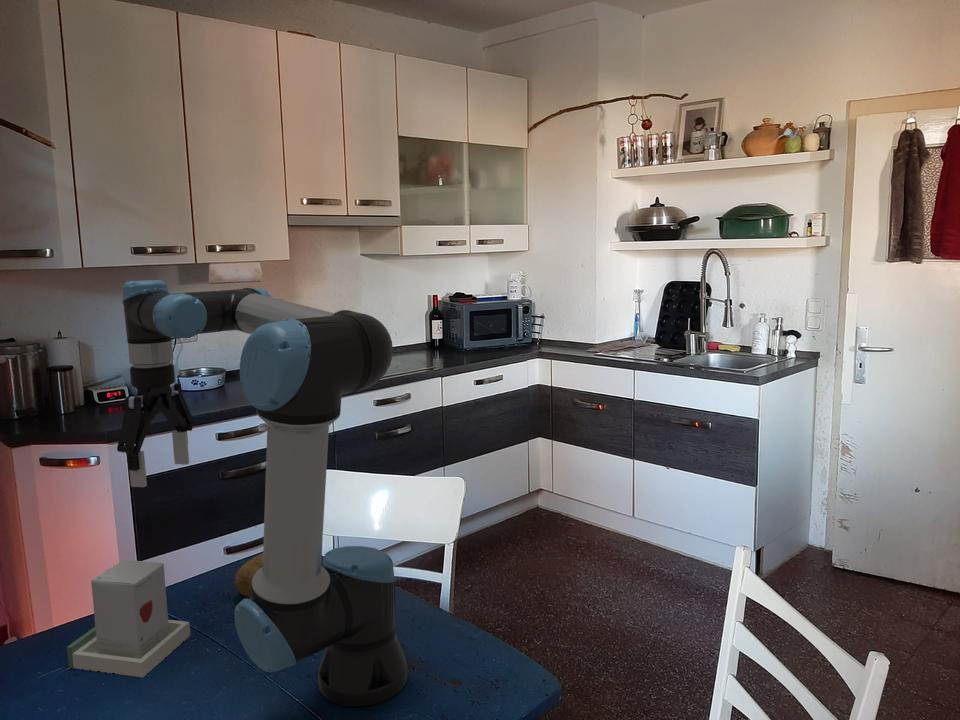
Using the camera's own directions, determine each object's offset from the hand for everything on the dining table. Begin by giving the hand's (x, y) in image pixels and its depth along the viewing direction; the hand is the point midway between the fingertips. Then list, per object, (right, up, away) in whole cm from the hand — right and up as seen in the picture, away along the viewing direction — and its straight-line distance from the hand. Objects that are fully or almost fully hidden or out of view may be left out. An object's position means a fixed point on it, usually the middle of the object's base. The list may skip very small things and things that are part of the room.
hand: (161, 474), depth 141 cm
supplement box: (-3, -32, -3) cm, 32 cm away
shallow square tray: (-4, -32, -3) cm, 33 cm away
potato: (+14, -28, +19) cm, 37 cm away
